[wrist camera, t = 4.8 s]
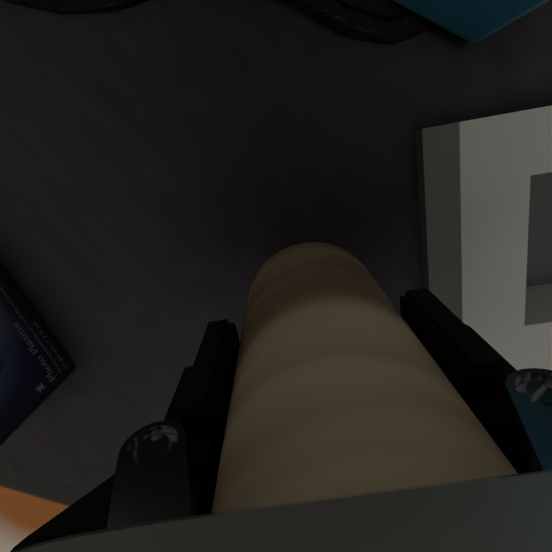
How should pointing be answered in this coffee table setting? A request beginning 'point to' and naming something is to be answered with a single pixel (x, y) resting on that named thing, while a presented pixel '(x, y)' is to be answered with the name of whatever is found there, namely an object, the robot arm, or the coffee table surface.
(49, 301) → the coffee table surface
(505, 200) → the socket block
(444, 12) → the data package
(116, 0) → the hairbrush
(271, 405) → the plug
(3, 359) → the small box
